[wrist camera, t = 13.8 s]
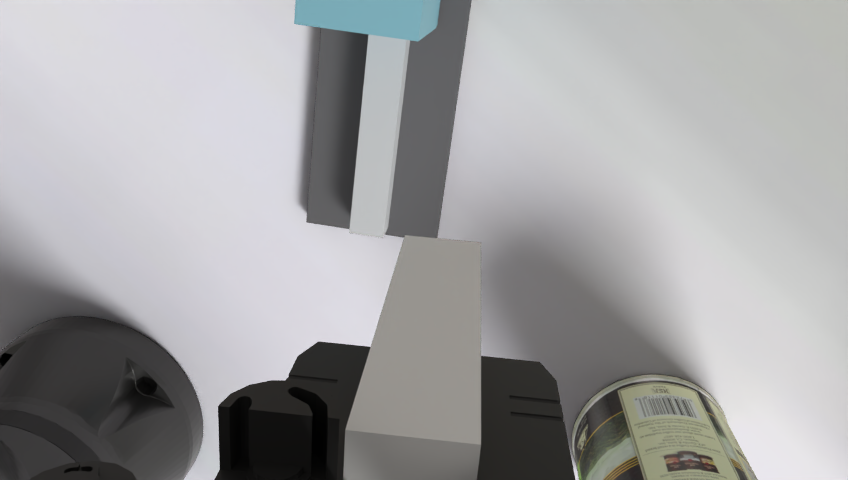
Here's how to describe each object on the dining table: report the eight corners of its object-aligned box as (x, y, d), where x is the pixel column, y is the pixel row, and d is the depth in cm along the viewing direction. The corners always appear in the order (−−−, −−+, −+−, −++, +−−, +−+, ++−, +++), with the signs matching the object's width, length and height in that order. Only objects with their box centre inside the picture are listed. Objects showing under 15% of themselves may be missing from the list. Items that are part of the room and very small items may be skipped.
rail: (310, 217, 44) (297, 233, 41) (341, -185, 37) (328, -199, 34) (437, 236, 44) (433, 254, 41) (495, -165, 36) (495, -177, 33)
